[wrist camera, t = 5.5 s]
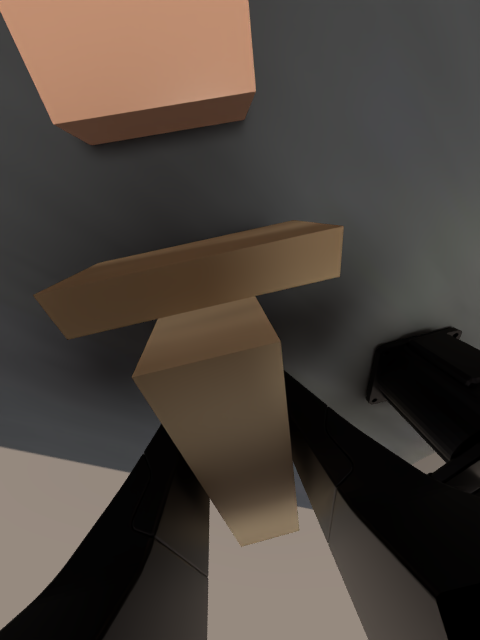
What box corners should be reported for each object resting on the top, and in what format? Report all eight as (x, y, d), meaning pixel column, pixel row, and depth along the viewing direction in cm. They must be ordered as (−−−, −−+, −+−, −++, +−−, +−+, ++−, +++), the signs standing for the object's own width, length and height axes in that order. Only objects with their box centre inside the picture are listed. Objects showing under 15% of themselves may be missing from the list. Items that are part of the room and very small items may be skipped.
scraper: (301, 412, 13) (350, 516, 8) (194, 439, 12) (187, 561, 8) (293, 220, 7) (429, 236, 3) (98, 263, 7) (-87, 353, 3)
